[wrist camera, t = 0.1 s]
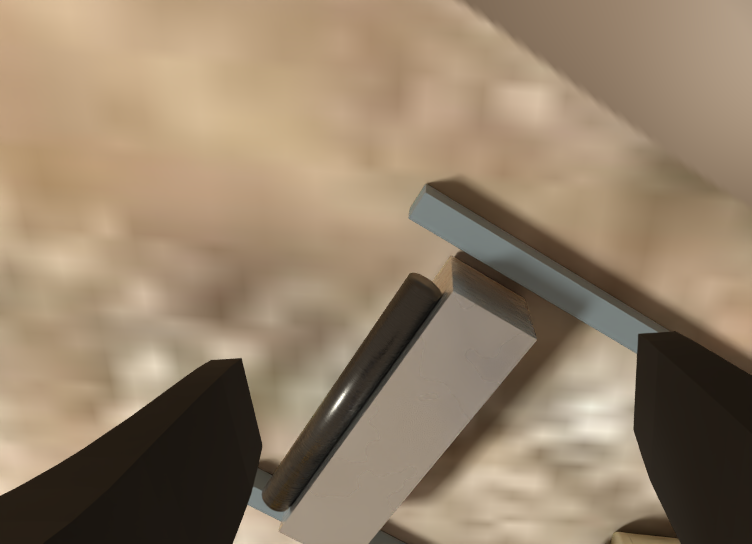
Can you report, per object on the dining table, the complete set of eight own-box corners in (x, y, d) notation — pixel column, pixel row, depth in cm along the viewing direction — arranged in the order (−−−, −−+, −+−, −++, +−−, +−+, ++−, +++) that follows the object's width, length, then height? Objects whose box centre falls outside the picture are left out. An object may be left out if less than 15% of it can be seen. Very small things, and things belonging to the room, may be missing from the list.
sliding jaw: (524, 298, 21) (537, 339, 19) (357, 510, 26) (349, 566, 23) (420, 237, 21) (418, 270, 18) (268, 464, 25) (249, 516, 23)
